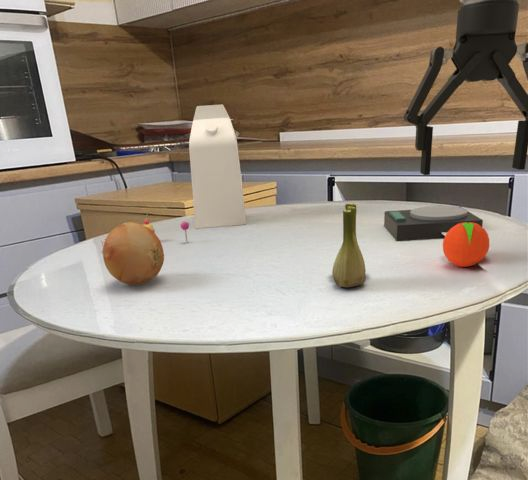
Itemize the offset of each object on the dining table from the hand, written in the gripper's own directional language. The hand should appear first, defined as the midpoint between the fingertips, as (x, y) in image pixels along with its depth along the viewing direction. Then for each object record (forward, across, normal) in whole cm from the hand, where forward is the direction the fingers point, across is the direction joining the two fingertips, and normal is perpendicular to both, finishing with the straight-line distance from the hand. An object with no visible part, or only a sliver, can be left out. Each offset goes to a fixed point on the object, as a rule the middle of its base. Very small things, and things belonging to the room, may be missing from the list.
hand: (471, 171), depth 79 cm
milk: (+15, +44, -48) cm, 66 cm away
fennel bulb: (+15, +19, +6) cm, 25 cm away
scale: (+15, -1, -26) cm, 30 cm away
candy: (+15, +58, -28) cm, 66 cm away
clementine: (+15, 0, 0) cm, 15 cm away
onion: (+15, +53, 0) cm, 55 cm away
